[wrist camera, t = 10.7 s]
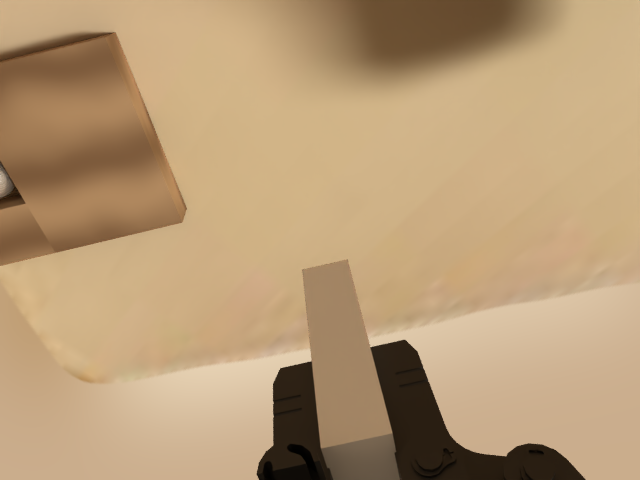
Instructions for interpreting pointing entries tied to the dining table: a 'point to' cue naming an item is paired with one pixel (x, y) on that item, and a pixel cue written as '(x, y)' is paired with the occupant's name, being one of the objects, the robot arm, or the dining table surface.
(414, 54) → the dining table surface
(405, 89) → the dining table surface
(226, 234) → the dining table surface
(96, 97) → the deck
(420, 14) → the dining table surface
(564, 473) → the robot arm
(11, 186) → the ball
